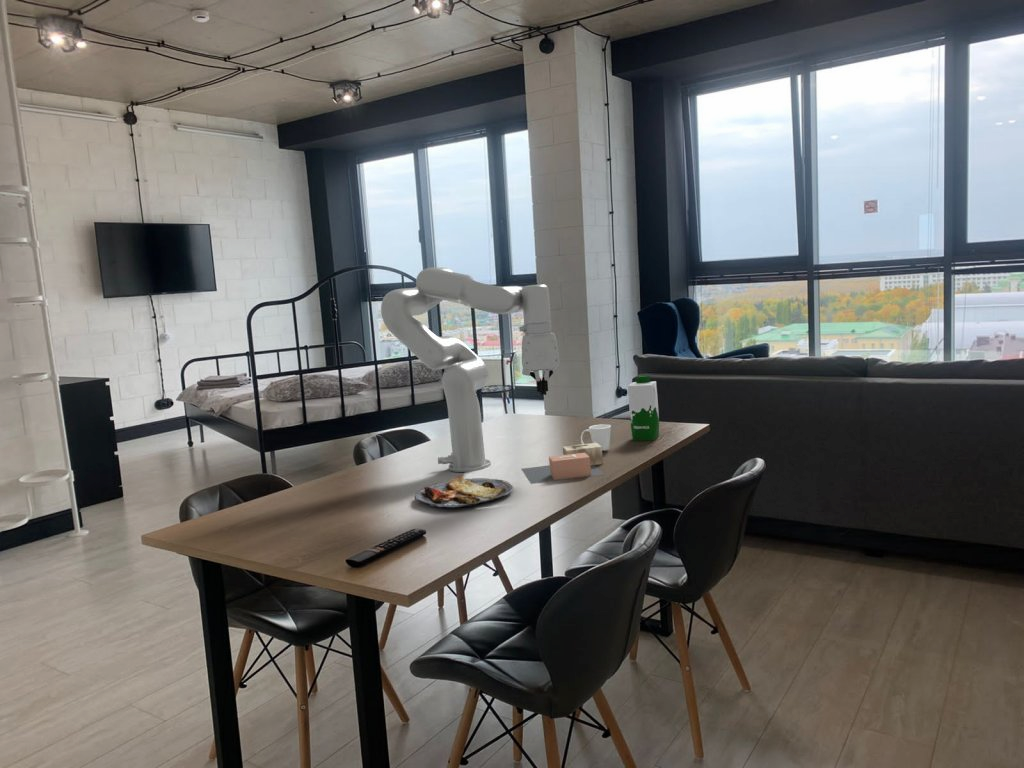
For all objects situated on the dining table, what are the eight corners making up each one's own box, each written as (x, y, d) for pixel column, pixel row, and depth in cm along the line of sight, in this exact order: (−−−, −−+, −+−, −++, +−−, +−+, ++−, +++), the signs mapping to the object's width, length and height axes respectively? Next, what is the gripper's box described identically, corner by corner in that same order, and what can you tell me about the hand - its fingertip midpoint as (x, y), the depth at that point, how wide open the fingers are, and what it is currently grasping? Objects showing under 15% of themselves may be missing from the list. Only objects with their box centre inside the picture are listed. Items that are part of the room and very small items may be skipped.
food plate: (399, 500, 199) (398, 487, 198) (471, 481, 213) (470, 468, 213) (456, 519, 179) (455, 505, 179) (530, 496, 194) (529, 483, 194)
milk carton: (662, 435, 250) (658, 374, 248) (656, 441, 242) (651, 378, 240) (635, 435, 254) (631, 375, 251) (629, 441, 246) (624, 379, 243)
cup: (608, 455, 228) (606, 428, 227) (577, 454, 233) (575, 428, 232) (616, 450, 235) (614, 424, 234) (586, 449, 239) (584, 424, 238)
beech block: (566, 450, 215) (601, 446, 216) (562, 446, 221) (596, 442, 222) (568, 468, 216) (602, 463, 217) (564, 463, 221) (597, 459, 223)
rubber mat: (531, 485, 202) (530, 483, 202) (521, 470, 220) (521, 468, 220) (604, 476, 205) (604, 474, 205) (589, 461, 222) (589, 460, 222)
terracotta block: (552, 460, 203) (589, 456, 205) (548, 456, 209) (584, 452, 210) (554, 479, 204) (591, 475, 205) (550, 474, 210) (586, 470, 211)
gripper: (513, 332, 209) (518, 398, 212) (566, 327, 211) (571, 393, 213) (509, 331, 217) (514, 395, 219) (561, 326, 218) (566, 390, 221)
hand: (542, 394), depth 216 cm, fingers closed
